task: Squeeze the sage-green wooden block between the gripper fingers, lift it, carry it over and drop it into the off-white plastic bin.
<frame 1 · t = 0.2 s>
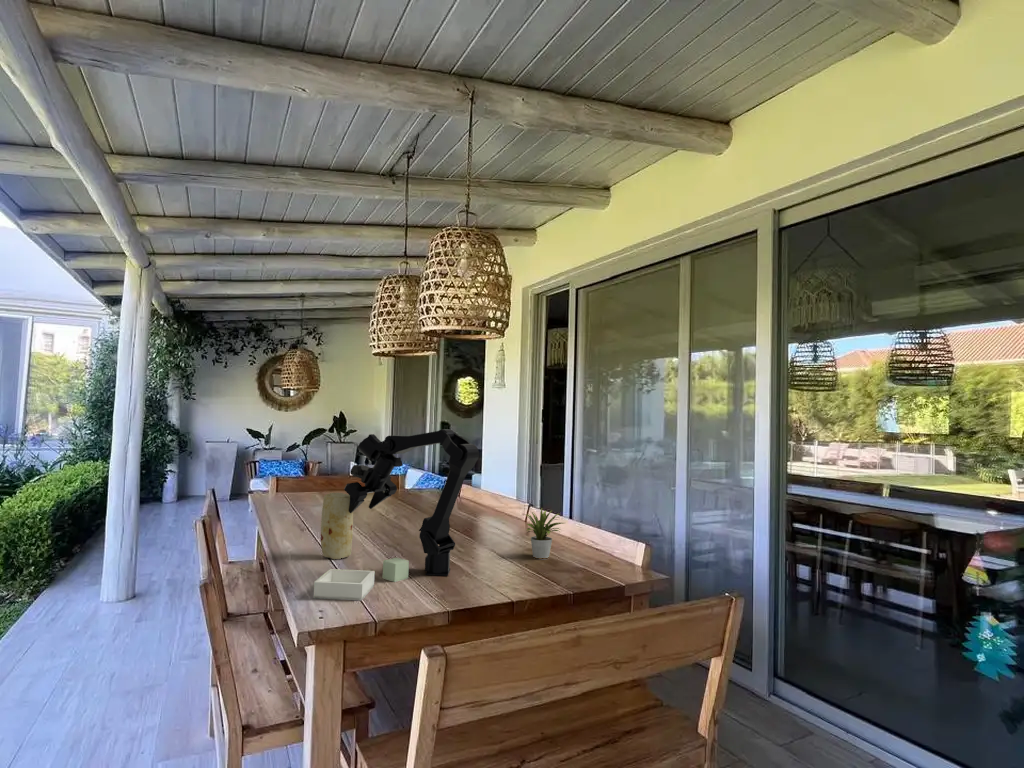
hand: (360, 510, 189), 15 cm above the table, tool tilted 30°, fingers open, 9 cm apart
house plant: (539, 558, 195), on the table
bin: (344, 592, 154), on the table
green block: (395, 578, 167), on the table
food model: (335, 558, 187), on the table
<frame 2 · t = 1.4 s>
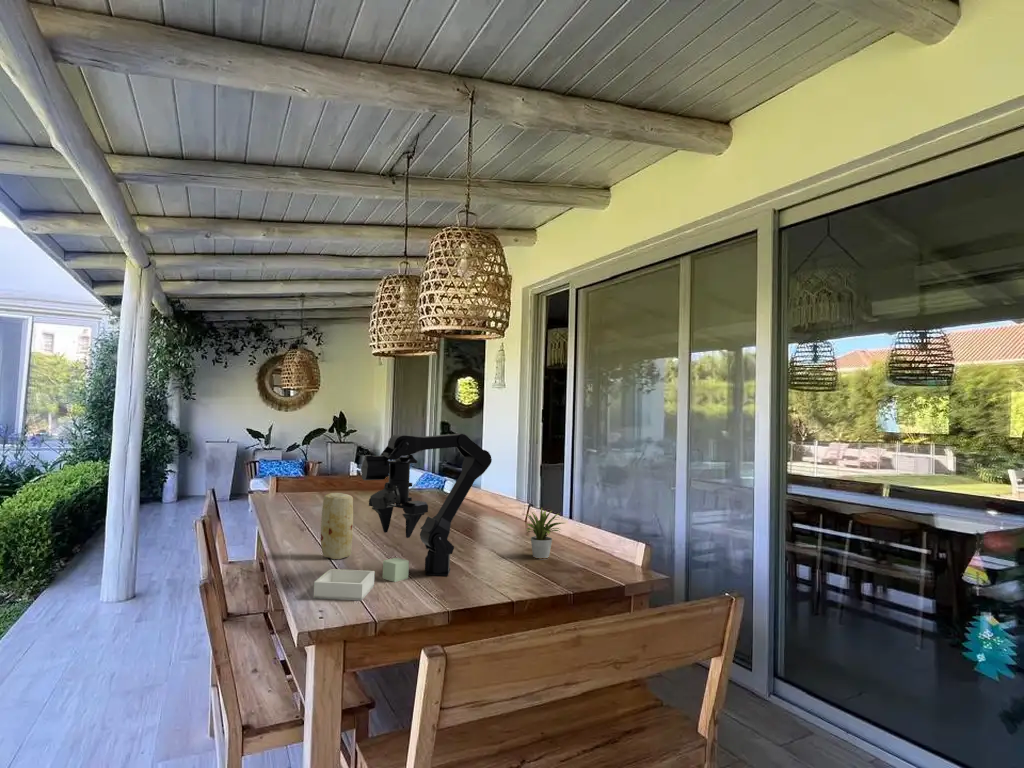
hand: (396, 535, 168), 12 cm above the table, tool pointing down, fingers open, 9 cm apart
nothing on the table moved.
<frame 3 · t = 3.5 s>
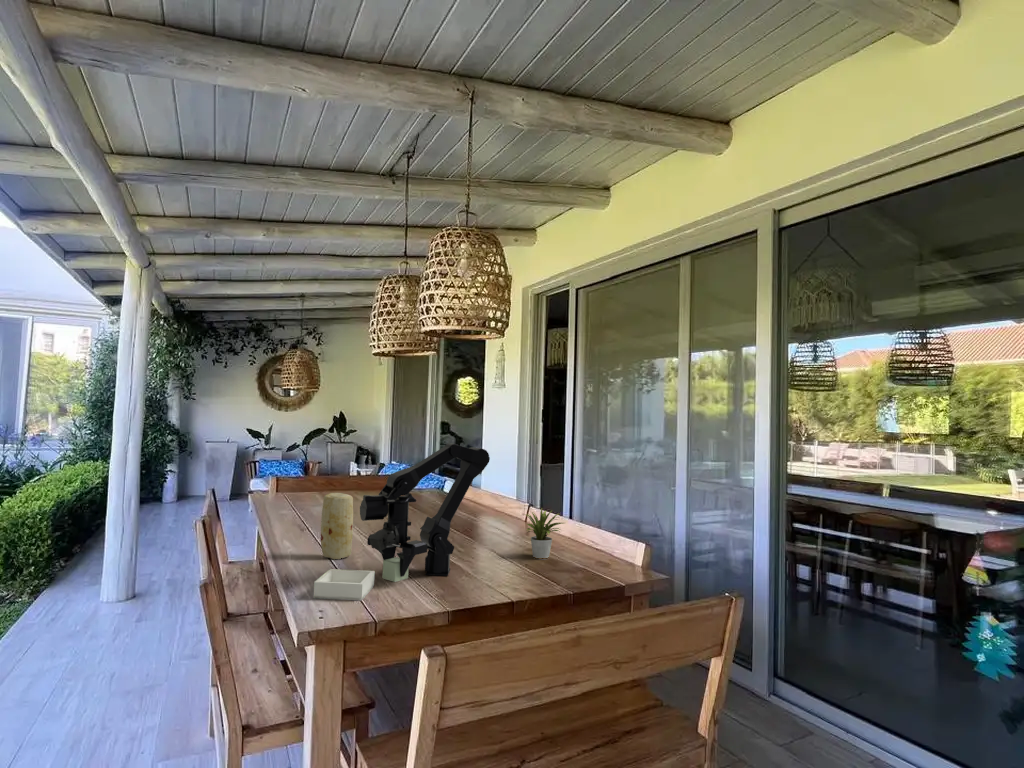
hand: (395, 574, 167), 1 cm above the table, tool pointing down, fingers closed on green block, 5 cm apart
green block: (395, 578, 167), on the table, touching gripper
everything else where it was.
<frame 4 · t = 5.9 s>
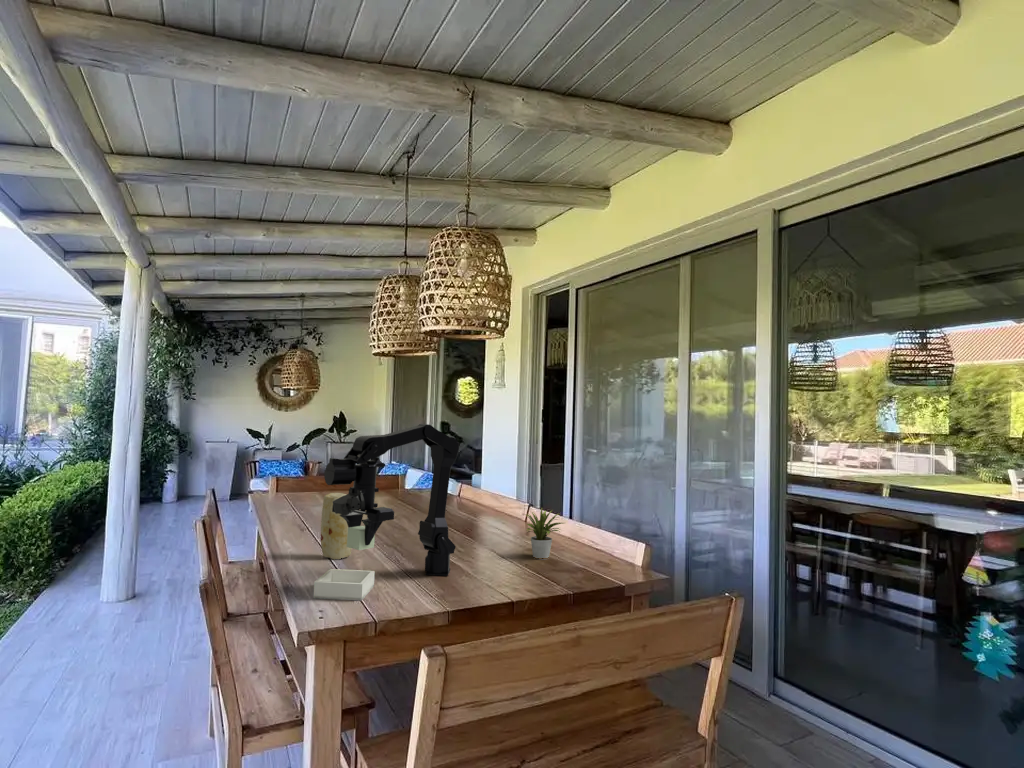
hand: (360, 543, 158), 12 cm above the table, tool pointing down, fingers closed on green block, 5 cm apart
green block: (360, 547, 158), point 11 cm above the table, touching gripper
everything else where it was.
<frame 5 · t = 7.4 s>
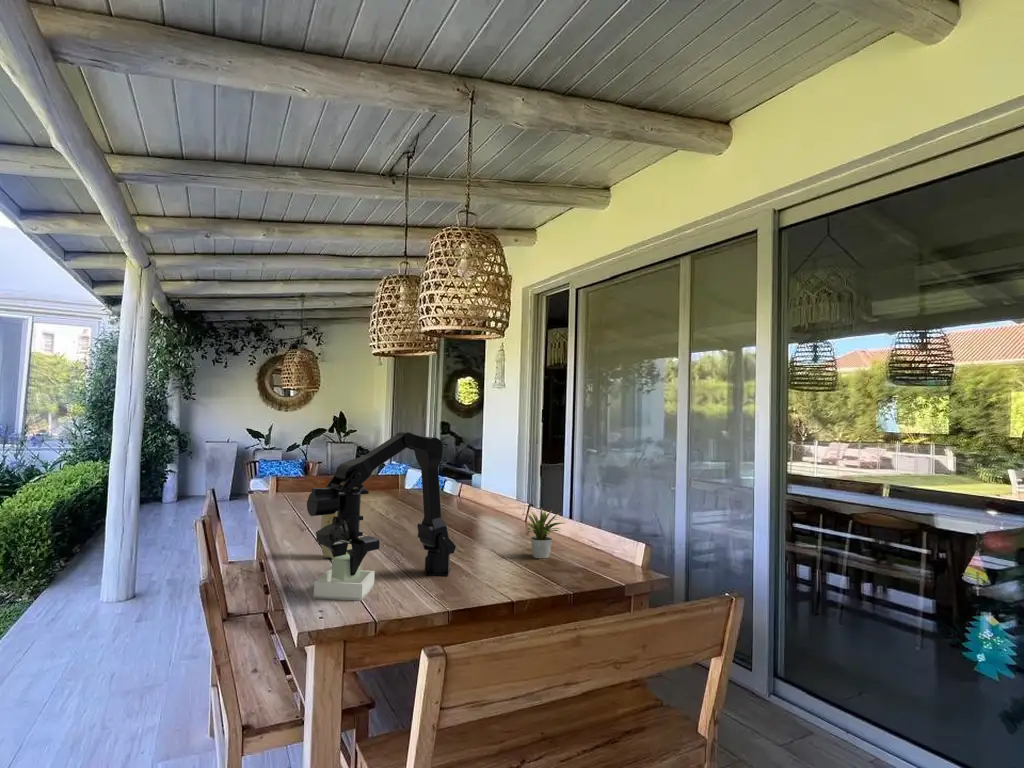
hand: (346, 573, 154), 5 cm above the table, tool pointing down, fingers closed on green block, 5 cm apart
green block: (345, 577, 154), point 4 cm above the table, touching gripper
everything else where it was.
when the fingers open (3 cm above the table, at t = 8.6 s): green block drops 1 cm, resting on bin.
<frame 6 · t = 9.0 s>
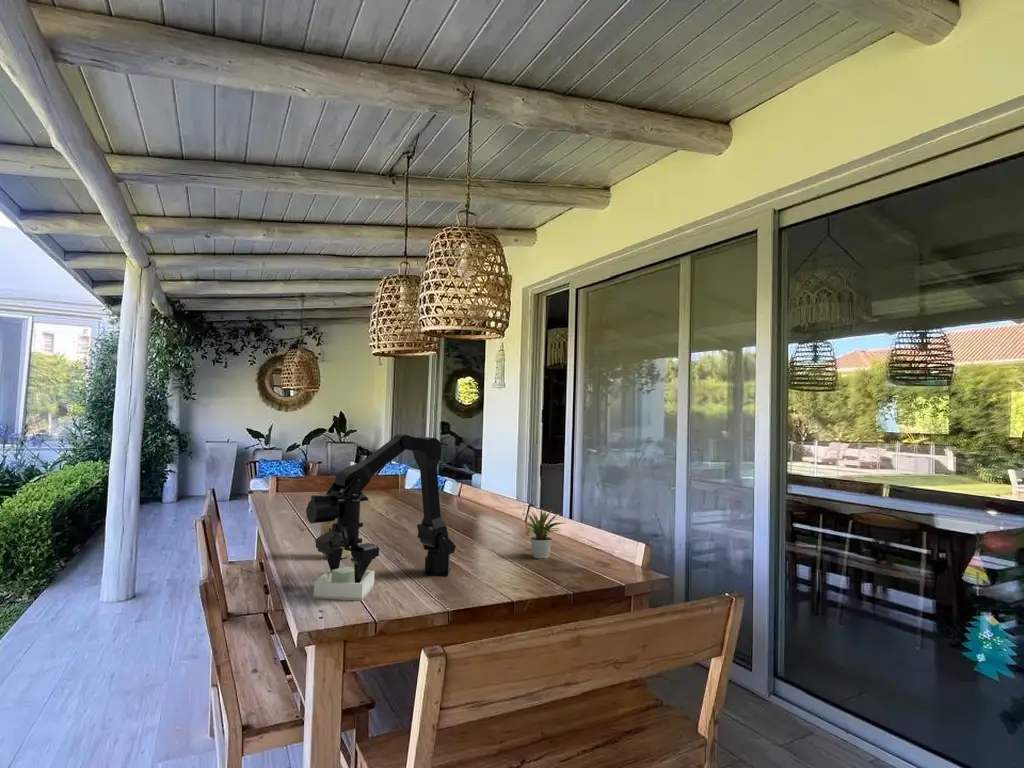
hand: (345, 580, 154), 3 cm above the table, tool pointing down, fingers open, 9 cm apart
green block: (344, 589, 154), point 1 cm above the table, touching bin
everything else where it was.
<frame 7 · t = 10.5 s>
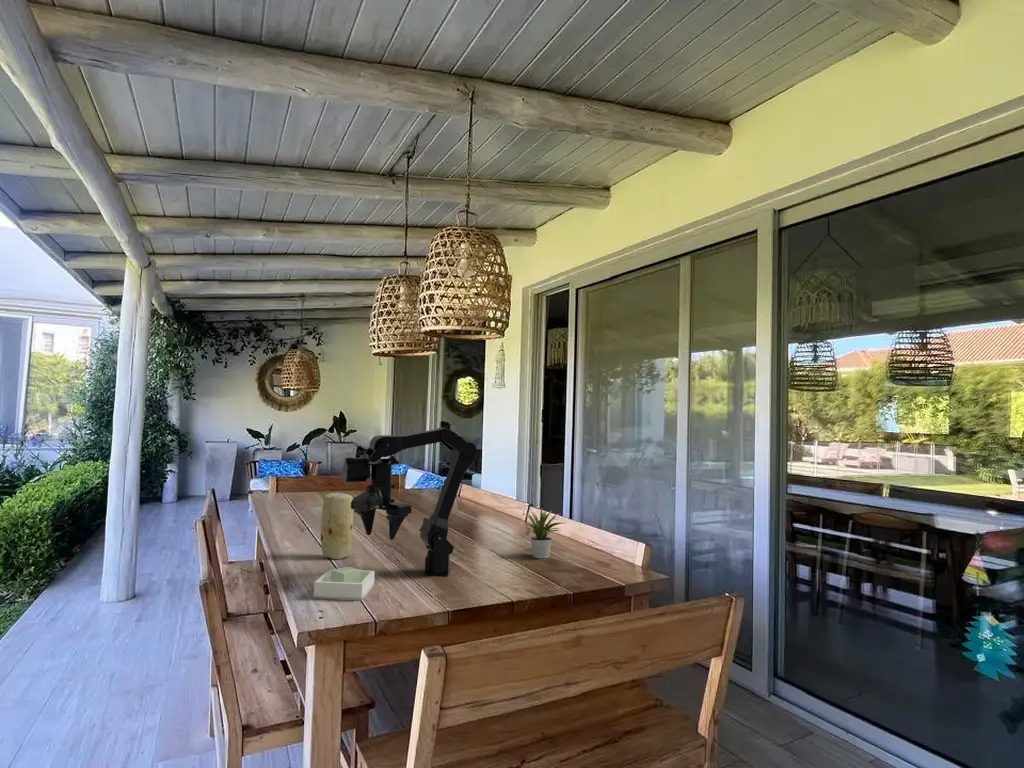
hand: (380, 537, 166), 12 cm above the table, tool pointing down, fingers open, 9 cm apart
nothing on the table moved.
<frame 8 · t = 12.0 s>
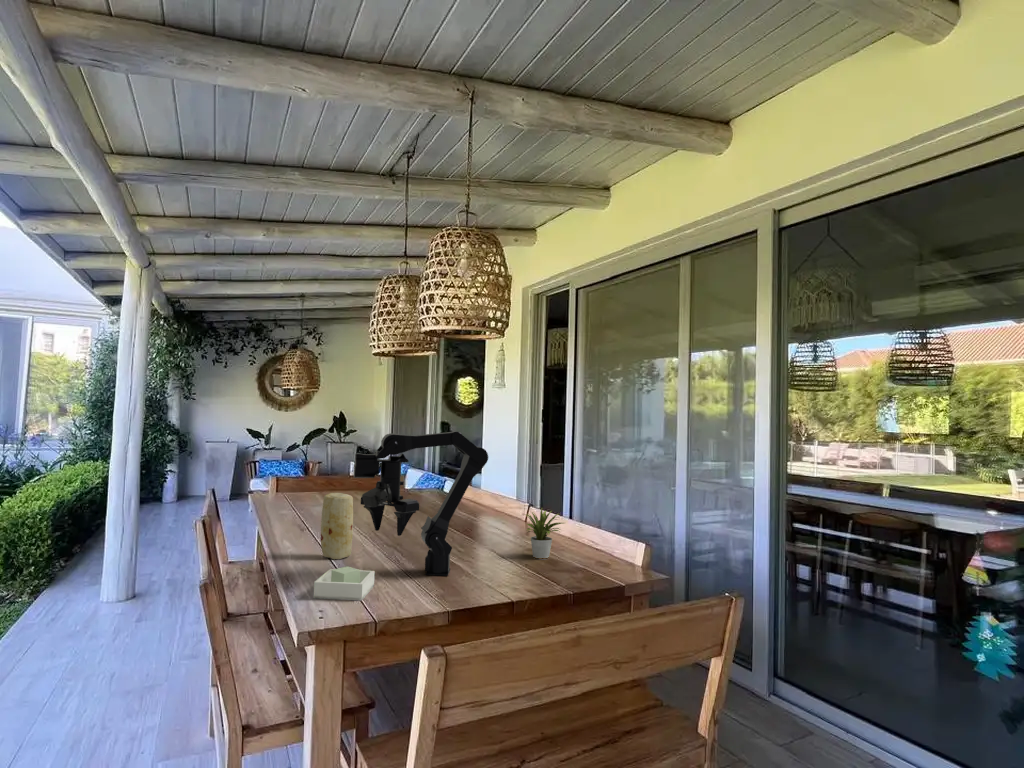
hand: (388, 533, 170), 12 cm above the table, tool pointing down, fingers open, 9 cm apart
nothing on the table moved.
at the end: green block inside the target area on the bin (0.0 cm from its centre), point 0.6 cm above the bin's base; the gripper is holding nothing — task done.
